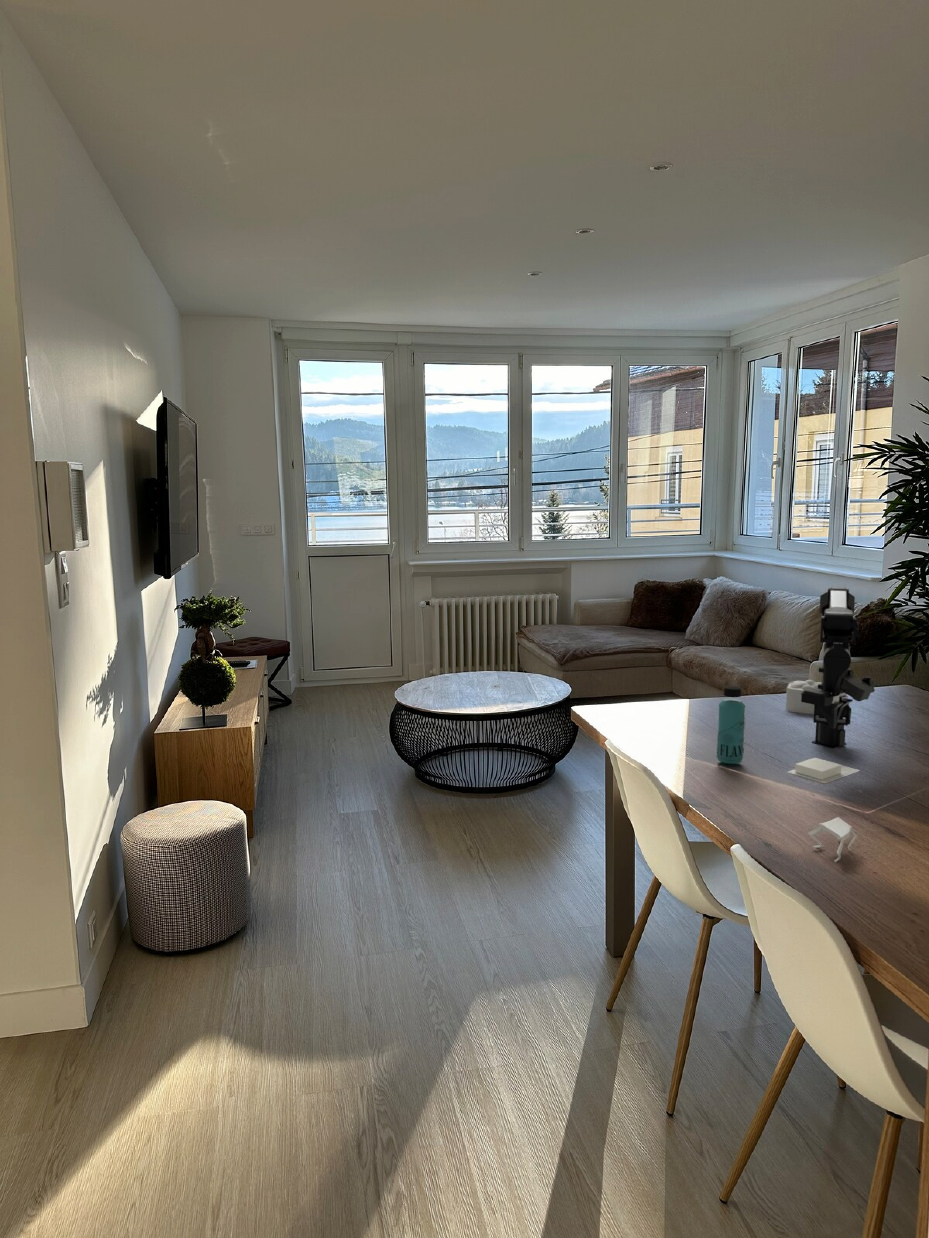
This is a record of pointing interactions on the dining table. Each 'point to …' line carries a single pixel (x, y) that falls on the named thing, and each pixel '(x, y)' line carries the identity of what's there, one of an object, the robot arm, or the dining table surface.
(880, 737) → the dining table surface
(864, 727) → the dining table surface
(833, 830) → the white legged piece
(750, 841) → the dining table surface
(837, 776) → the felt mat
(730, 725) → the beverage bottle
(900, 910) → the dining table surface
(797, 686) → the white bumpy block
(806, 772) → the rectangular block
